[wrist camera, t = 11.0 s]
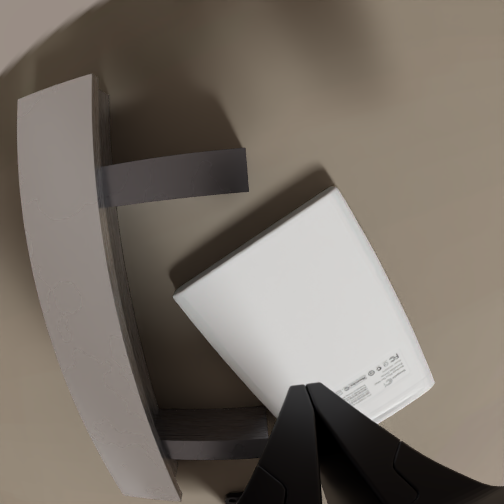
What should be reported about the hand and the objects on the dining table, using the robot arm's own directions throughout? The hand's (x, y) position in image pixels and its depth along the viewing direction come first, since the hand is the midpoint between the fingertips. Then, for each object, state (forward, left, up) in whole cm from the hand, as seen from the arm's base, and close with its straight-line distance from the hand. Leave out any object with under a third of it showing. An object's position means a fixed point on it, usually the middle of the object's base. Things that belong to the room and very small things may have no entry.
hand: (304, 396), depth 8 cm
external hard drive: (-2, -2, -7) cm, 8 cm away
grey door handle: (0, +5, -7) cm, 8 cm away
